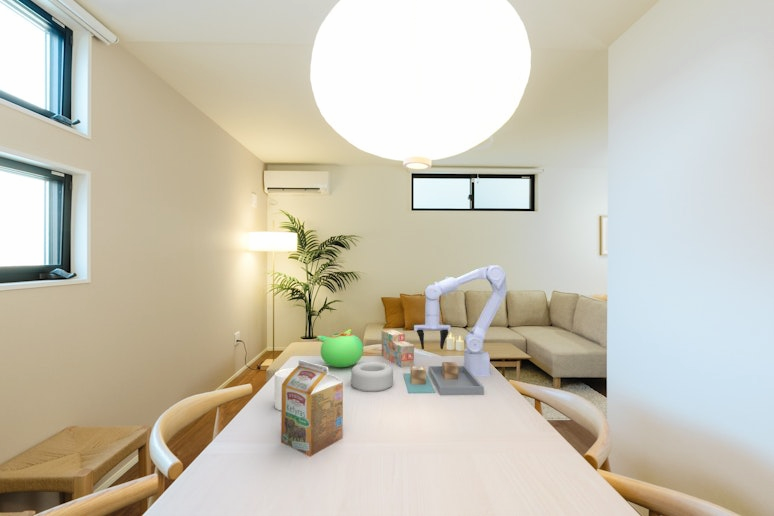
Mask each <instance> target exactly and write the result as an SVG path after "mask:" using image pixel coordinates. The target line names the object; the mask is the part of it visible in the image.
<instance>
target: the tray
mask: <svg viewBox="0 0 774 516" xmlns="http://www.w3.org/2000/svg"><path fill="white" fill-rule="evenodd" d="M428 375H429V376H430V378H431V381H432V382H433V384H434V386H435V388H436V390H437V393H438V394H439V395H440V396H471V395H472V396H475V395H476V396H479V395H480V396H484V394H485V392H484V391H485V386H483V384H482V382H480V380H478V378H476V376H474V375H473V374H472V373H471V372H470V371H469V370H468V369H467V368H466V367H465V366H464V365H458V379H444V377H443V376H442V365H428Z"/></svg>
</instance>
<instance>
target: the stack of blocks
mask: <svg viewBox="0 0 774 516" xmlns="http://www.w3.org/2000/svg"><path fill="white" fill-rule="evenodd" d="M380 334H381V340H380V341H381V357H382V358H383V359H385V358H386V359H385V360H387V361H388V360H389V362H390V361H391V362H390V363H392V362H393V363H394V365H395V366H396V365H397V366H398V367H400V368H408V367H410V366H415V364H414V363H415V362H414V360H415V359H414V358H415V345H414V344H412V343H410V342H408V341H405V338H406V337H405V335H406V334H405V333H403V332H400V331H398V330H396V329H385V330H381V333H380ZM393 363H392V364H393Z"/></svg>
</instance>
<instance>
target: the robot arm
mask: <svg viewBox="0 0 774 516" xmlns="http://www.w3.org/2000/svg"><path fill="white" fill-rule="evenodd" d="M477 279H478V280H487V281H488V282H489V284H490V286H491V289H492V292H491V294H490V296H489V297H488V299H487V302H486V304H485V305H484V307H483V308H482V312H481V313H480V315H479V317H478V319H477V320H476V323H475V325H474V326H473V327H472V329H471V330H470V331H469V332H468V333H467V334H466V335H465V336H464V343H465V345H466V347H465V348H464V350H463V354H464V355H463V359H464V360H463V361H464V363H463V364H464V365H463V366H465V367H466V368H467V369H468V370H469V371H470V372H471V373H472V374H473V375H474V377H491V374H490V369H491V368H490V366H491V365H490V364H491V361H490V360H491V359H490V355H489V352H488V351H484V350H483V348H484V340H485V338H486V334H487V331H488V329H489V328H490V325H491V324H492V321H493V319H494V318H495V316H496V313H497V312H498V311H499V308H500V306H501V304H502V302H503V301H504V299H505V297H506V295H507V293H508V288H507V287H508V286H507V274H506V273H505V271H504V269H503V268H502V267H501V266H500V265H496V264H495V265H494V264H490V265H487V266H483V267H479V268H477V269H474V270H472V271H469V272H467V273H464V274H462V275H461V276H458V277H452V276H450V277H449V276H445V279H443V280H440V281H438V282H437V281H435V282H433V283H434V284H429V285H428V286H427V287H426V289H425V291H424V295H425V303H424V305H425V307H424V309H425V310H424V315H425V316H424V318H425V319H424V324H415V325H413V330H414V332H416V333H417V336H418V337H419V342H420V346H421V350H424V349H425V341H424V340H425V339H424V338H425V333H424V331H439V333H440V344H439V348H440V349H441V350H443V349H444V345H445V343H446V342H445V341H446V339H447V337H448V335H449V332H450V331H451V327H452V326H451V325H450V324H440V302H439V301H440V300H439V299H440V296H441V297H443V296H445V295H449V294H450V293H453V292H455V291H457V290H458V288H459V287H460V286H462V285H464V284H467V283H469V282H472V281H475V280H477ZM451 332H452V331H451Z"/></svg>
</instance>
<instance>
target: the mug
mask: <svg viewBox="0 0 774 516" xmlns="http://www.w3.org/2000/svg"><path fill="white" fill-rule="evenodd" d="M294 369H295V367H293V368H282V369H279V370H276V371H275V373H274V407H275V409H276V410H277V411H280V412H281V410H282V384H283V382H284V381H285V379H286V378H287V377H288V376H289V375H290V373H291V372H292V371H293V370H294Z"/></svg>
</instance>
